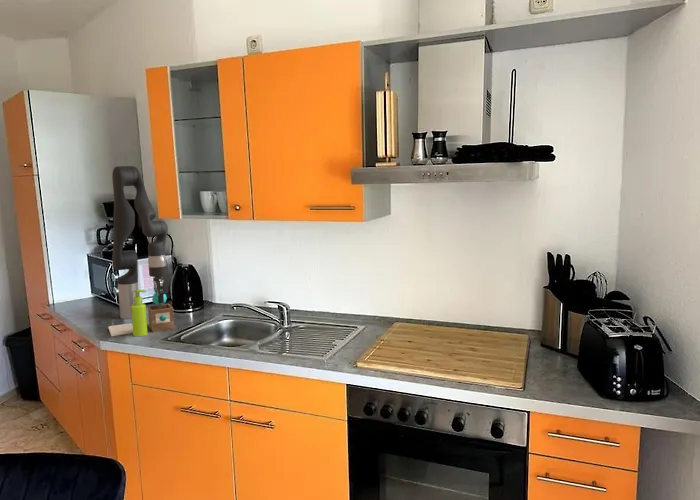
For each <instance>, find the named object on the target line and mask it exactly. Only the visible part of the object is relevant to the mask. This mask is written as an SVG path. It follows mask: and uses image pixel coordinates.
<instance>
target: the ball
mask: <svg viewBox="0 0 700 500" xmlns="http://www.w3.org/2000/svg"><path fill="white" fill-rule="evenodd" d="M163 296H164V303H158V292H157V293H156V292H154V294H153V295H152V302H153V303H154V304H155V305H162V304H166V302H167V298H168V297H167V294H166V293H165V294H164V295H163Z"/></svg>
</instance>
